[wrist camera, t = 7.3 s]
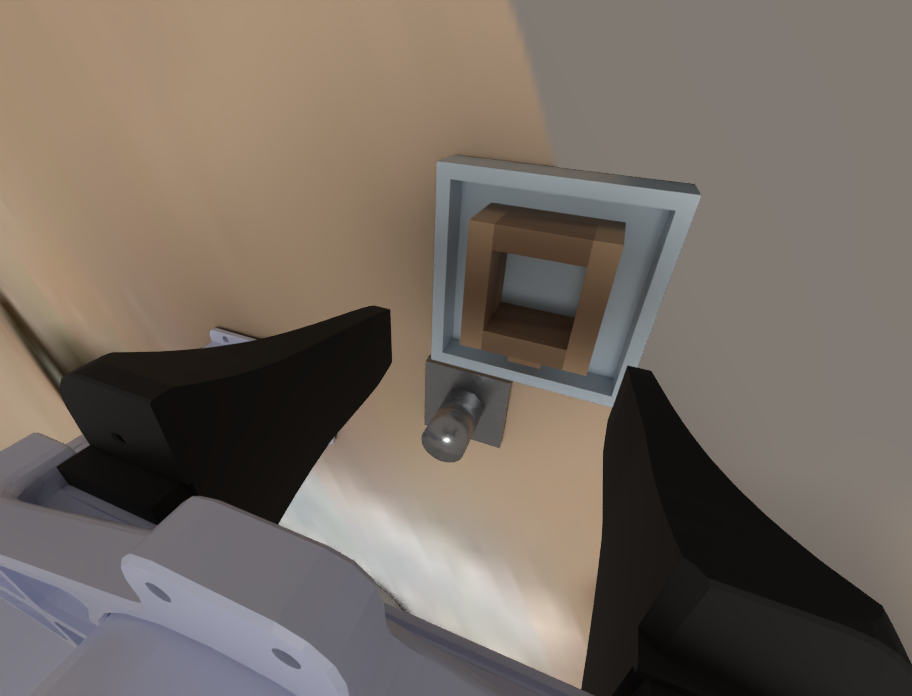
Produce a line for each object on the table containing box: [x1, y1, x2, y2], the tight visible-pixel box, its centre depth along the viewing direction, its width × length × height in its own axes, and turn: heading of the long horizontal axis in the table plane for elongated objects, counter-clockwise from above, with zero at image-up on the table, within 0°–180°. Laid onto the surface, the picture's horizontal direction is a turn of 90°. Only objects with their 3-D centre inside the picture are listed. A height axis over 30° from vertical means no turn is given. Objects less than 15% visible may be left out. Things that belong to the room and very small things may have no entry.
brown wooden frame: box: [460, 202, 626, 376], centre depth 18 cm, size 7×6×3 cm
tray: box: [431, 155, 701, 407], centre depth 18 cm, size 10×10×2 cm
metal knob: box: [422, 356, 512, 462], centre depth 23 cm, size 5×5×4 cm
